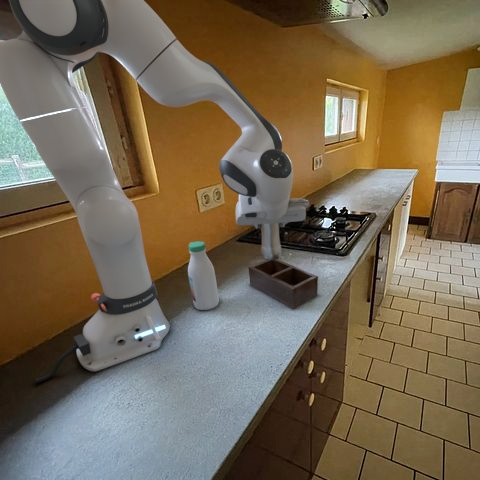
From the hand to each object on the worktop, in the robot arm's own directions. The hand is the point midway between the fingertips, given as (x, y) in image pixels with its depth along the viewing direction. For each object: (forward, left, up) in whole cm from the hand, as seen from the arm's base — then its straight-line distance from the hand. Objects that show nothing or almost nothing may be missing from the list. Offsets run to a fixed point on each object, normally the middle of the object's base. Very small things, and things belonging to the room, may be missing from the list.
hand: (269, 225), depth 93 cm
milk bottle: (-22, +6, -21) cm, 31 cm away
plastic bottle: (0, -1, -11) cm, 11 cm away
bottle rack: (0, -5, -21) cm, 22 cm away
